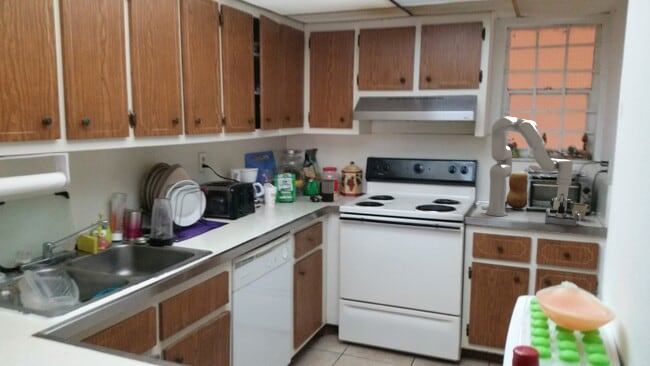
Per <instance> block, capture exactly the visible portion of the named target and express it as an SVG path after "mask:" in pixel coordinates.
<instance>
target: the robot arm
mask: <svg viewBox="0 0 650 366" xmlns="http://www.w3.org/2000/svg"><path fill="white" fill-rule="evenodd" d="M507 132H515V133H518V134H520V135H521V137H522V138H523V140H524V141H525V143H526V144H527V145H528V147H529V149H530V151H531V154H532V155H533V157H534V159H535V162H536V163H537V165H539V167H540V169H541V170H542V171H543V172H545V173H553V172H556V184H557V185H558V186H557V194H556V198H557V201H559V206H558V209H557V211H558V213H559V214H564V212H565V213H566V211H564V209H565V207H564V203H565V202H566V200H567V199H568V195H569V188H570V187H569V186H570V185H572V176H573V166H574V163H573V161H572V160H570V159H559V158H551V156H550V154H548V152H547V151H546V147H545V140H544V139H543V137H542V136H541V134H540V133H539V131H538V125H537V123H536V122H535V121H533V120H529V119H523V118H520V117H519V118H518V117H514V116H513V117H512V116H505V117H500V118H499V119H497V120H496V121H495V122H494V123H493V125H492V126H491V133H490V134H491V135H490V136H491V140H490V141H491V145H490V147H491V148H490V149H491V153H490V154H491V158H492V160H494V161H495V162H496V163H494V164H493V165H492V166H491V167H490V168H489V199H488V200H489V201H488V206H481V210H482V211H485V214H486V215H488V216H493V217H494V216H496V217H505V216H508V212H506V198H507V178H508V177H509V176H510V174H511V173H513V152H512V149H511V148H510V147H509V146H508V145H507V136H506V133H507ZM563 197H564V198H563ZM559 199H560V200H559Z"/></svg>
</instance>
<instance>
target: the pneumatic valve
mask: <svg viewBox="0 0 650 366" xmlns="http://www.w3.org/2000/svg"><path fill="white" fill-rule="evenodd" d="M563 198H564V197H563ZM559 200H560V199H559ZM574 203H575V202H573V199H569V198H567V200H566V202H565V203H564V207H565V209H564V211H565V212H564V214H559V213H558V206H559V201H557V197H552V199H551V200H550V206H551V209H552V210H557V211H556V212H555V216H556V217H558V218H565V217H567V212H570V211H571V212H572V209H573V208H574Z"/></svg>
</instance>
